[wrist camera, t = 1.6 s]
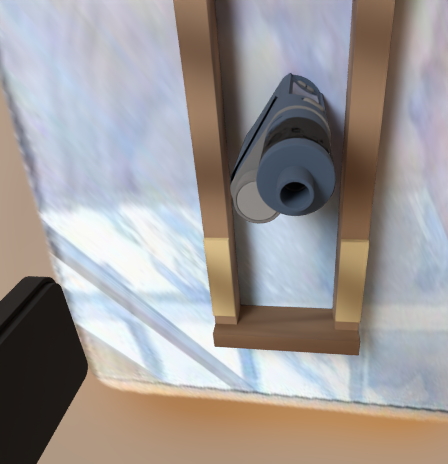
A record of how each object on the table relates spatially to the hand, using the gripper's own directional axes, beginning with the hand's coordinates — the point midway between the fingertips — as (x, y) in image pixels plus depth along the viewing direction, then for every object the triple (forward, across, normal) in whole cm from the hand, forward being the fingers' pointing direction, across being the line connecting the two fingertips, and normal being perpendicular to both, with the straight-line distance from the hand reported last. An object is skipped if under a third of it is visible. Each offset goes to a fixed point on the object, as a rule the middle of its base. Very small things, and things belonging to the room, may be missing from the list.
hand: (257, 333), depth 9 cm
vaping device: (+16, 0, -1) cm, 16 cm away
